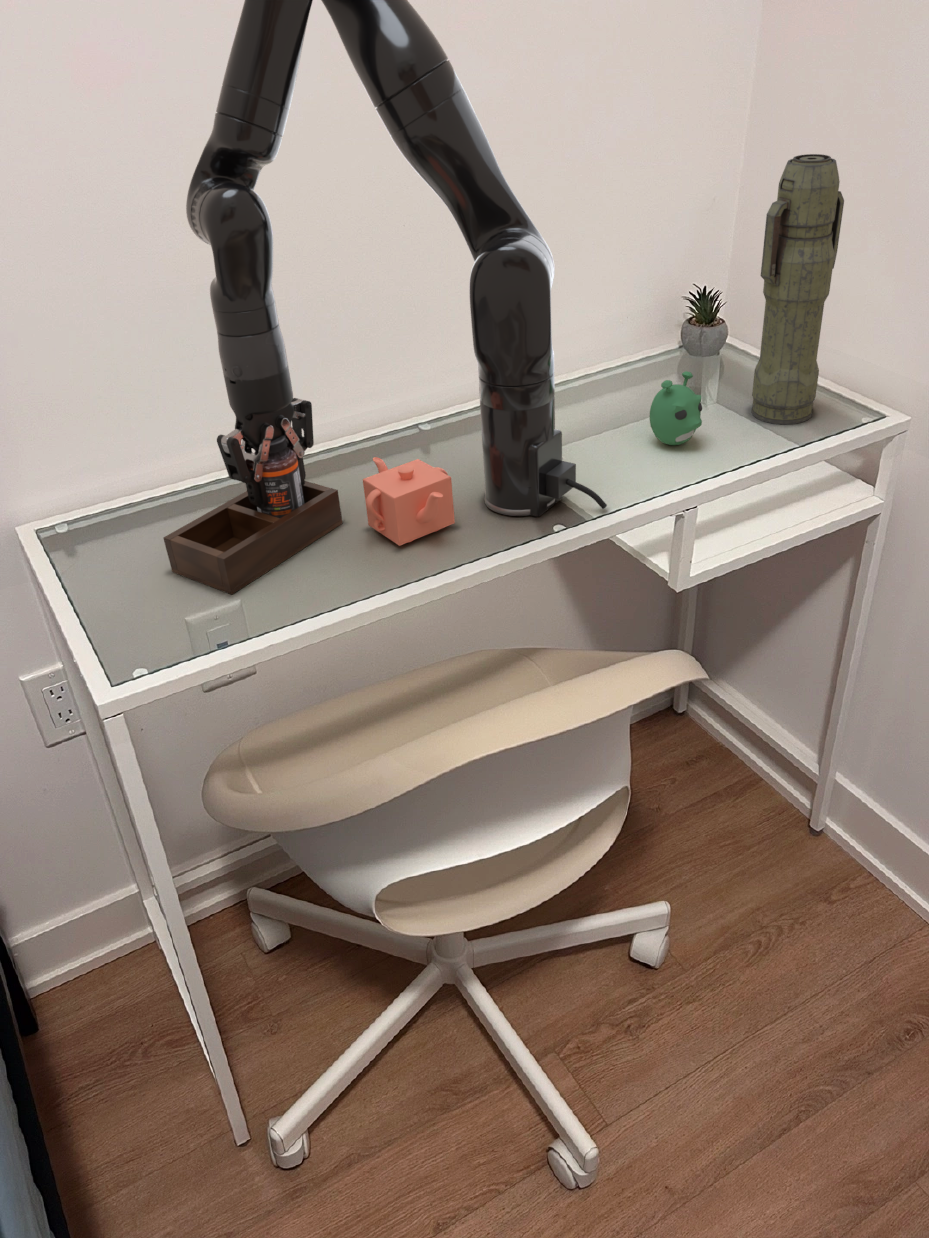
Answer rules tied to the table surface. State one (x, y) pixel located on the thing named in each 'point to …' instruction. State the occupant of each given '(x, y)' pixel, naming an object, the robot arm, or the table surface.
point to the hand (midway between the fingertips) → (279, 494)
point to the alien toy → (675, 412)
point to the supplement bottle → (281, 480)
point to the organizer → (249, 538)
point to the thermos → (796, 287)
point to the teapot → (408, 500)
